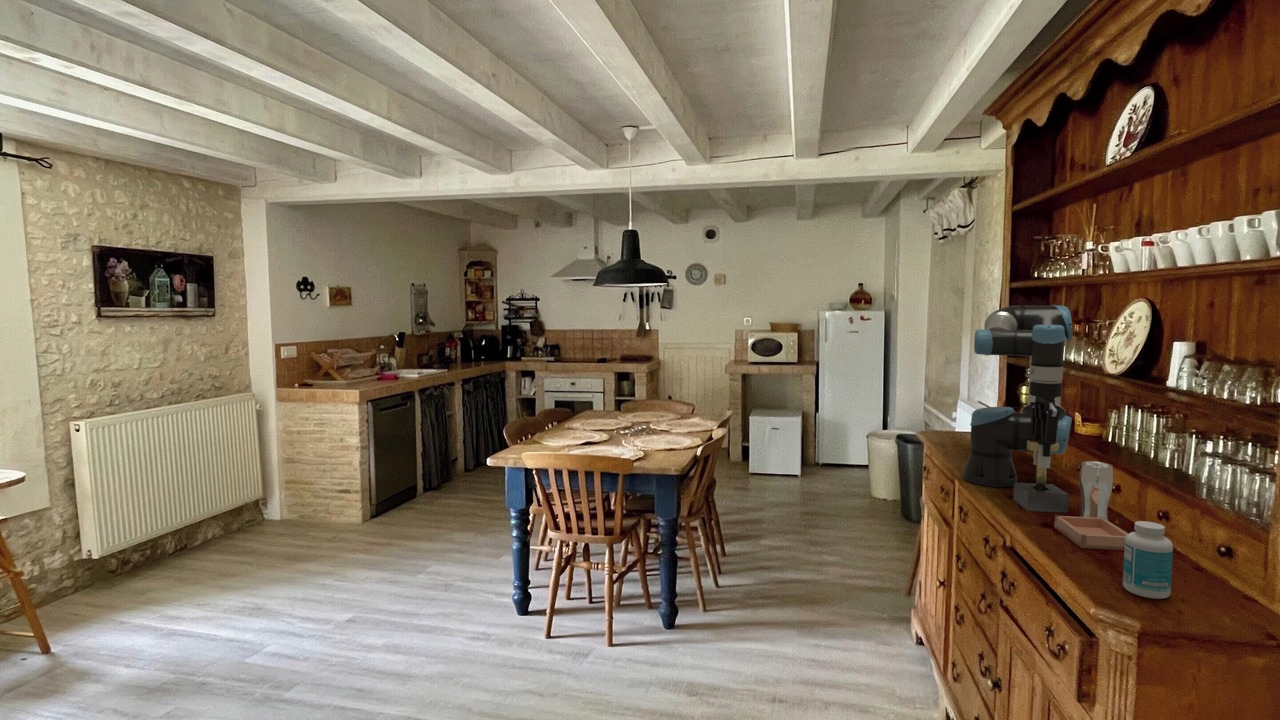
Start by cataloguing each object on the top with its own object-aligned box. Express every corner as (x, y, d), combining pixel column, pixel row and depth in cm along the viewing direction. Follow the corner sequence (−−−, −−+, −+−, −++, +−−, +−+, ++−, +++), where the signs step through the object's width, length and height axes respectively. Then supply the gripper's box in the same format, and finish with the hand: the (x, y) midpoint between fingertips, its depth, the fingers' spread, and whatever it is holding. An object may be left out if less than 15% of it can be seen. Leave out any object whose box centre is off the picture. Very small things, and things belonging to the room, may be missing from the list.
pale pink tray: (1054, 527, 165) (1054, 515, 165) (1103, 529, 163) (1103, 518, 163) (1081, 547, 151) (1081, 535, 151) (1134, 550, 149) (1135, 538, 149)
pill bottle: (1179, 597, 126) (1184, 528, 125) (1153, 603, 124) (1158, 533, 122) (1138, 581, 133) (1142, 516, 132) (1113, 587, 131) (1117, 521, 129)
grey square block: (1013, 499, 188) (1014, 482, 187) (1051, 501, 186) (1052, 484, 186) (1027, 510, 178) (1028, 492, 177) (1067, 512, 176) (1068, 494, 176)
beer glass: (1115, 526, 165) (1119, 468, 164) (1084, 525, 166) (1088, 466, 165) (1102, 517, 172) (1105, 461, 171) (1072, 516, 173) (1075, 460, 172)
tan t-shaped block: (1052, 492, 182) (1054, 441, 181) (1056, 494, 180) (1058, 442, 179) (1024, 490, 184) (1027, 440, 182) (1028, 493, 181) (1030, 442, 180)
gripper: (1019, 377, 187) (1016, 458, 189) (1042, 385, 172) (1038, 473, 174) (1048, 378, 186) (1044, 459, 188) (1074, 385, 171) (1069, 474, 173)
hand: (1041, 466), depth 181 cm, fingers closed on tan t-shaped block, 2 cm apart
